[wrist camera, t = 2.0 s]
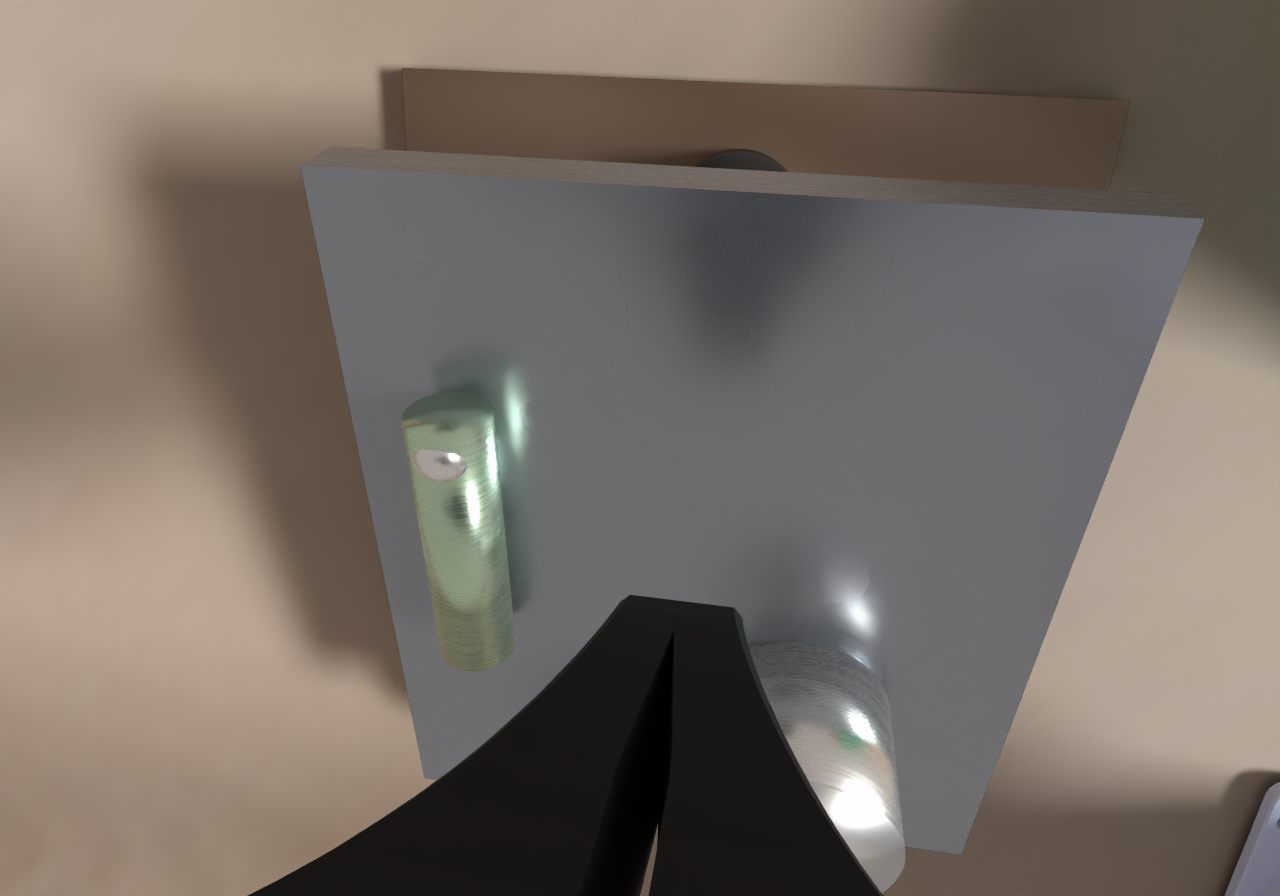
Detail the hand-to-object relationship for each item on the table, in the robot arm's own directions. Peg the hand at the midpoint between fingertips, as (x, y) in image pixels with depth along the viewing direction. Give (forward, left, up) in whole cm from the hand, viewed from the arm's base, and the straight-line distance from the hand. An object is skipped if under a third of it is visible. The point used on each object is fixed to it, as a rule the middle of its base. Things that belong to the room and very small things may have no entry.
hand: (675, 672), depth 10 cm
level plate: (-1, 0, -6) cm, 6 cm away
